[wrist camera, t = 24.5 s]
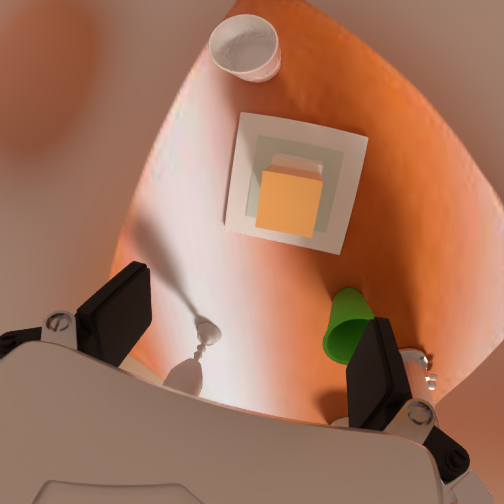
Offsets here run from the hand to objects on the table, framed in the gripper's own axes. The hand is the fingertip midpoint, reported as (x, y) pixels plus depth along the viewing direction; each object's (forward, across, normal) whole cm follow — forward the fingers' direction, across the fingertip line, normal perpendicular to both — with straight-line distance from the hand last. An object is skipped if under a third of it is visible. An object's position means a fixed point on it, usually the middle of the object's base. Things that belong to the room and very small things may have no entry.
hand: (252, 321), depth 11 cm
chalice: (+32, +10, +31) cm, 46 cm away
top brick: (+25, 0, 0) cm, 25 cm away
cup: (+32, -13, +17) cm, 39 cm away
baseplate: (+32, 0, 0) cm, 32 cm away
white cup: (+32, +8, -17) cm, 38 cm away
